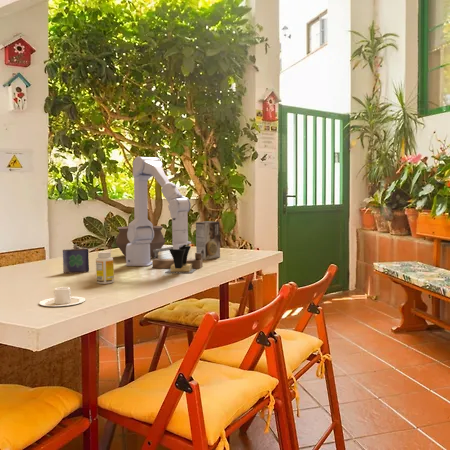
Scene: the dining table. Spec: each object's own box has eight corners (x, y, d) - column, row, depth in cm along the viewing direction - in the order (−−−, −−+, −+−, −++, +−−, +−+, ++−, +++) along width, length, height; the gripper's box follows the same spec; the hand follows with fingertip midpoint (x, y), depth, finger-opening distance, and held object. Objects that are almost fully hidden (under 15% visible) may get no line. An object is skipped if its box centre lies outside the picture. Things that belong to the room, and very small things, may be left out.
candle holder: (35, 302, 137) (34, 287, 137) (78, 297, 143) (78, 282, 143) (44, 311, 127) (43, 294, 127) (91, 305, 133) (90, 289, 133)
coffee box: (210, 256, 227) (210, 221, 226) (220, 257, 223) (220, 221, 222) (195, 258, 221) (195, 222, 220) (205, 259, 216) (205, 222, 215)
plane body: (152, 267, 194) (152, 253, 194) (155, 266, 198) (155, 252, 198) (200, 268, 192) (200, 253, 191) (202, 266, 196) (202, 252, 196)
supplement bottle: (115, 281, 167) (114, 250, 166) (112, 284, 161) (112, 252, 160) (98, 281, 166) (97, 251, 165) (95, 284, 161) (94, 253, 160)
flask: (63, 273, 183) (62, 244, 182) (63, 272, 186) (62, 244, 185) (89, 272, 186) (88, 243, 185) (88, 271, 189) (88, 243, 188)
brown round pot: (157, 260, 215) (156, 223, 214) (105, 260, 219) (104, 223, 218) (173, 253, 239) (172, 219, 237) (125, 253, 243) (124, 219, 242)
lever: (156, 258, 194) (156, 249, 194) (152, 258, 196) (151, 249, 195) (180, 254, 207) (180, 246, 207) (176, 254, 208) (176, 245, 208)
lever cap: (170, 271, 183) (170, 265, 183) (173, 269, 188) (173, 263, 187) (189, 271, 182) (189, 265, 182) (192, 269, 187) (192, 263, 187)
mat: (165, 273, 181) (165, 272, 181) (170, 269, 189) (170, 268, 189) (191, 273, 180) (191, 272, 180) (196, 269, 188) (196, 269, 188)
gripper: (186, 231, 176) (187, 269, 177) (194, 228, 190) (195, 263, 191) (167, 231, 177) (167, 269, 178) (176, 228, 191) (177, 263, 192)
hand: (180, 266), depth 185 cm, fingers open, 7 cm apart
